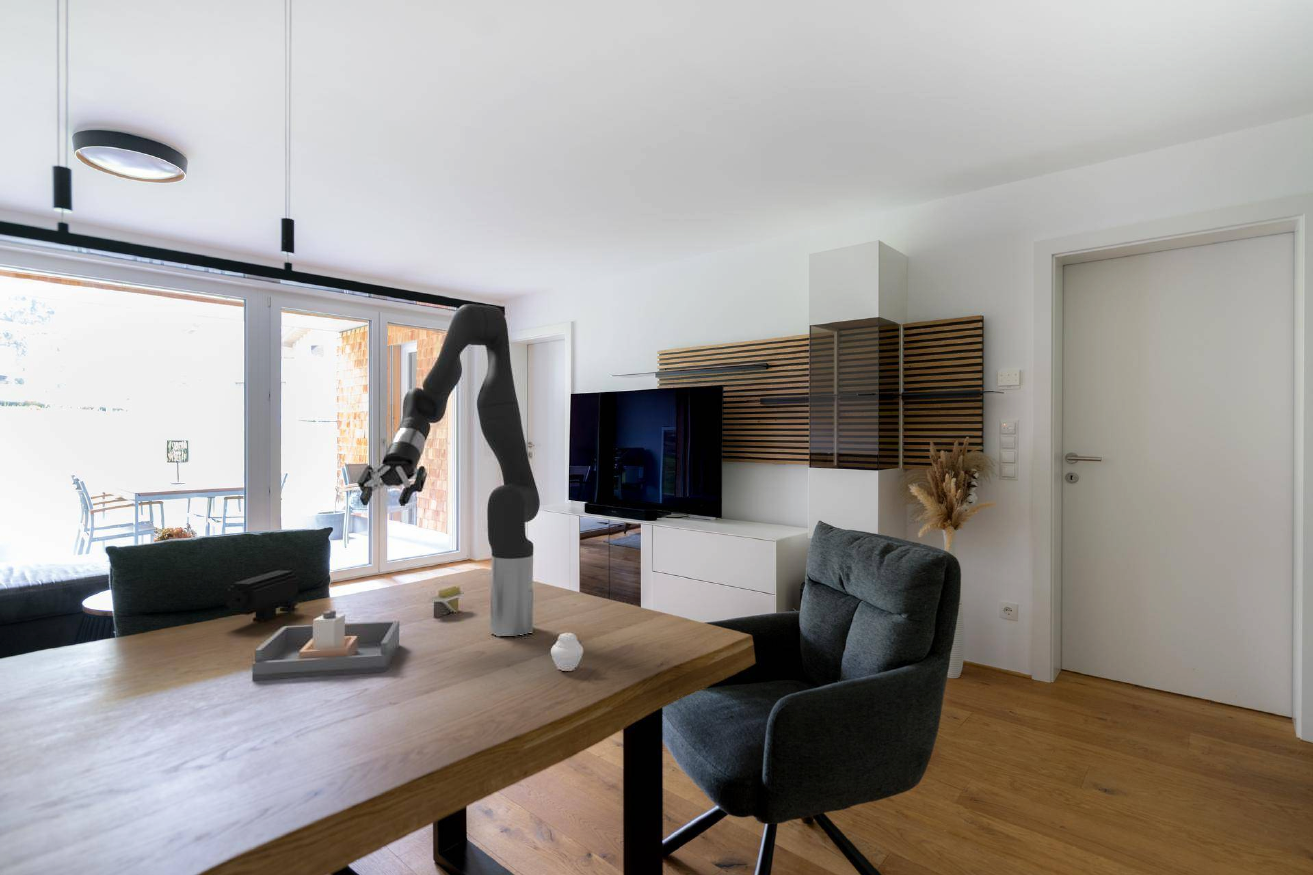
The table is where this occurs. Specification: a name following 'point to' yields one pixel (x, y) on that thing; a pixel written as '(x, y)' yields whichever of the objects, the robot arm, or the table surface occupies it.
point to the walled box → (326, 652)
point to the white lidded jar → (567, 651)
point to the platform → (446, 601)
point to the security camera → (263, 595)
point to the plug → (329, 631)
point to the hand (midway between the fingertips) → (382, 503)
